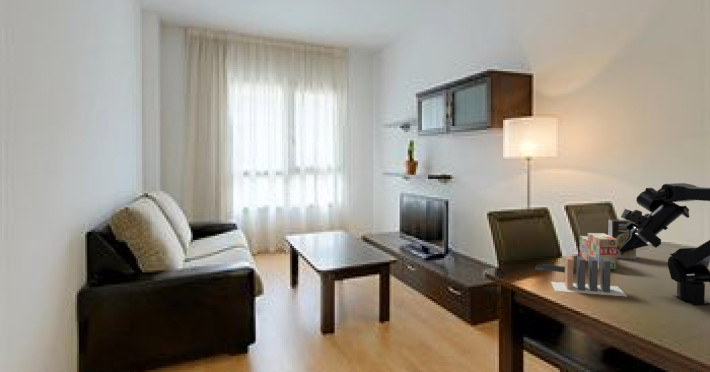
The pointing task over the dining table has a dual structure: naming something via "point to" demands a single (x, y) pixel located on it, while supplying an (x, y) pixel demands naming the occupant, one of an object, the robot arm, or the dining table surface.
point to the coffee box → (620, 237)
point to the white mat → (587, 289)
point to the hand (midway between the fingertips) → (620, 251)
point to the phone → (553, 268)
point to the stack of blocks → (599, 248)
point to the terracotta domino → (569, 272)
